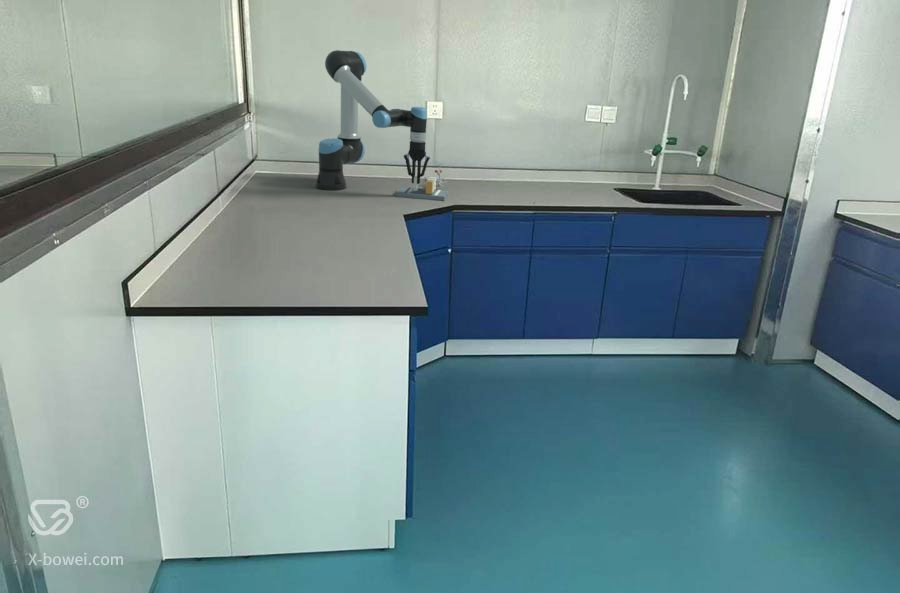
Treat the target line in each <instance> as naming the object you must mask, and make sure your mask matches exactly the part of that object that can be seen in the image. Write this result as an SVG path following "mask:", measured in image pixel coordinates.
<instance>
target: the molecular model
mask: <svg viewBox="0 0 900 593" xmlns="http://www.w3.org/2000/svg"><path fill="white" fill-rule="evenodd" d="M438 169H439V171H438V170H437V169H435V170H434V173H436V174H437V176H435V177H436V187H437V186H438V187H439V188H443V187H444V186H443V185H445V184H447V181H446V178H444V177H443V178H442V177H441V174H442V172H443V171H442V170H441V166H440V167H438ZM429 178H430V176H424V179H425V180H422V183H423V184H424V183H426V181H427V180H428V179H429ZM442 180H444V181H442Z"/></svg>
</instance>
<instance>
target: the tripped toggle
mask: <svg viewBox="0 0 900 593" xmlns="http://www.w3.org/2000/svg"><path fill="white" fill-rule="evenodd" d="M425 189H426V194H432V193H433V181H431V180H427V181H425Z"/></svg>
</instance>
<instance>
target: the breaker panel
mask: <svg viewBox="0 0 900 593" xmlns="http://www.w3.org/2000/svg"><path fill="white" fill-rule="evenodd" d="M436 177H437V176H429V178H428V180H431V181H433V193H432V194H426V188H421V187H420V188H419V187H418V188H417V191H413V189H414V187H407V186H406V187H405V186H401V187H400V188H399V189H398V190H397V191H395V197H398V198H399V197H400V198H411V199H418V200H419V199H421V200H422V199H423V200H431V201H441V200H443V201H445V200H446V199H447V197H448V196H449V190H441V189H437V188H436V187H437V186H436V185H437V183H436ZM443 201H442V202H443Z"/></svg>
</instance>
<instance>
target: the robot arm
mask: <svg viewBox="0 0 900 593" xmlns="http://www.w3.org/2000/svg"><path fill="white" fill-rule="evenodd" d="M324 66H325V70H326V72H327V74H328V75H329V76H330V78H331V79H332V80H333V81H334V82H335V83H339V84H340V132H339V134H338V135H337V138H325V139H323V140H320V141H319V143H318V166H319V167H318V174H317V178H316V181H315V188H317V189H319V190H326V191H339V190H345V189H346V188H347V182H346V178H345V174H344V171H343V169H344V168H343V167H344V165H348V164H356V163H358V162H360V161H361V160H363V158H364V155H365V152H366V147H365V144H364V143H363V141H362V140H361V138H362V137H361V136H360V135H359V134H358V132H359V130H358V125H359V124H358V123H359V105H360V106H361V107H362V108H363V109H364V110H365V111H366V112H367V113H368V114H369V115H370V116H371V119H372V123H373V125H374V126H375V127H376V128H378V129H379V128H381V129H386V128H394V127H406V128H407V127H408V128H410V130H409V131H410V132H409V140H410V141H409V149H408V152H407V153H405V154H403V158H404V160H405V164H406V169H407V175H409V176H411V184H413V188H414V189H413V191H417V188H419V187H418V185H419V184H420V183H421V178H422V177H423V176H424V177H425V173H426V170H427V166H428V163H429V161H430V159H431V156H429V155H428V154H427V152H426V144H427V143H426V140H427V122H428V110H427V108H425V107H422V106H412V107H411V109H410V110H407V109H401V108H391V109H388V108H387V107H386V106H384V104H383V103H382V102H381V100H380V101H379V99H378V98H377V97H376V96H375V95H374V94H373V93H372V92H371V91H370V90H369V88H367V87H366V86H365V85H364V83H363V82H362V79H363V78H362V76H364V75H365V73H366V71H367V62H366V59H365V57H364V56H363V55H362V54H361V53H360V52H359V51H354V50H338V49H337V50H336V49H335V50H332V51H331V52H329V53H328V54H327V56H326V57H325V62H324ZM410 159H411V160H412V162H410ZM422 160H425V161H424V162H423V167H422ZM411 163H412V166H411ZM416 163H417V164H416ZM416 165H417V172H416ZM421 168H422V170H421Z"/></svg>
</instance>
